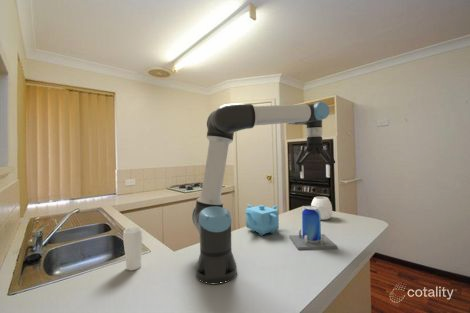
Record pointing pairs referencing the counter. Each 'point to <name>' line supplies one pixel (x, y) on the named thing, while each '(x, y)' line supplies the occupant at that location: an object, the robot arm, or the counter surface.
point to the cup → (323, 207)
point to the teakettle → (262, 219)
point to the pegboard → (304, 245)
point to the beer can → (311, 224)
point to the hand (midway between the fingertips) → (315, 177)
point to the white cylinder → (133, 247)
